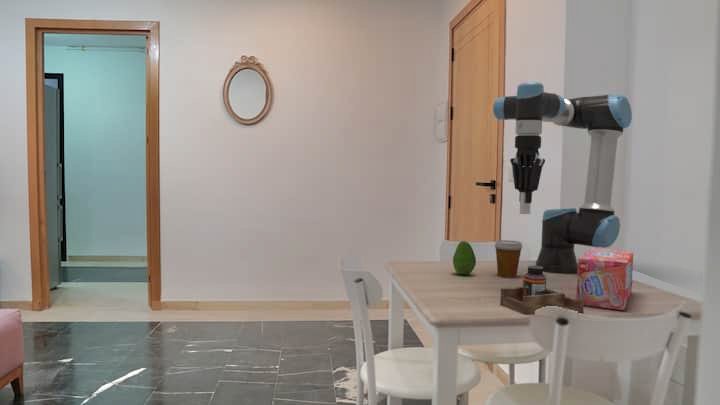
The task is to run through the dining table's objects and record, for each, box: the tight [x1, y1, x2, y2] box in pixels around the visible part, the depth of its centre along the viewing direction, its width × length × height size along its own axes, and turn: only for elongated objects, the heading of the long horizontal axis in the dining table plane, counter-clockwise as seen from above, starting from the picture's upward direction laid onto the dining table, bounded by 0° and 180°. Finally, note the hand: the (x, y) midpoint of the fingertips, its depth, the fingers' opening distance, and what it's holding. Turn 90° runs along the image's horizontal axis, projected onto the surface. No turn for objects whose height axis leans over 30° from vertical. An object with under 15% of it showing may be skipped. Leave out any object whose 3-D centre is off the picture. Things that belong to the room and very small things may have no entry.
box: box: [575, 247, 634, 311], centre depth 162 cm, size 27×13×14 cm, turn 150°
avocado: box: [452, 240, 477, 276], centre depth 192 cm, size 8×8×12 cm
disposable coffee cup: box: [494, 239, 523, 278], centre depth 192 cm, size 10×10×12 cm
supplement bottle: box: [523, 265, 547, 296], centre depth 150 cm, size 6×6×11 cm
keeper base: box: [499, 286, 585, 315], centre depth 149 cm, size 17×14×4 cm
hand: (524, 213), depth 166 cm, fingers closed
